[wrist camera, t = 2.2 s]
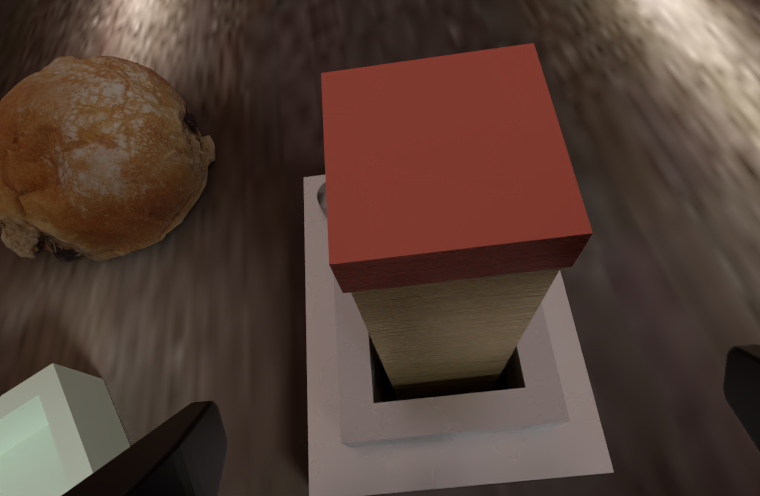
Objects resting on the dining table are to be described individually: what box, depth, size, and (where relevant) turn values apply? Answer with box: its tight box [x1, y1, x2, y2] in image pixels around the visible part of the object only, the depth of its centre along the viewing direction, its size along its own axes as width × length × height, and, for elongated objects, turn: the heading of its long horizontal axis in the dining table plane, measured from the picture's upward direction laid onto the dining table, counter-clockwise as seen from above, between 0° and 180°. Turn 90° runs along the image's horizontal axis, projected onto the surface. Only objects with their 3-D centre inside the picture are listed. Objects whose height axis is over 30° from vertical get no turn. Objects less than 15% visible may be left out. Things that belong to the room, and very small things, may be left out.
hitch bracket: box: [304, 175, 614, 496], centre depth 19 cm, size 13×10×4 cm
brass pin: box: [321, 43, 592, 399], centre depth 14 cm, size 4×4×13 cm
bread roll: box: [0, 56, 215, 263], centre depth 23 cm, size 10×10×8 cm
